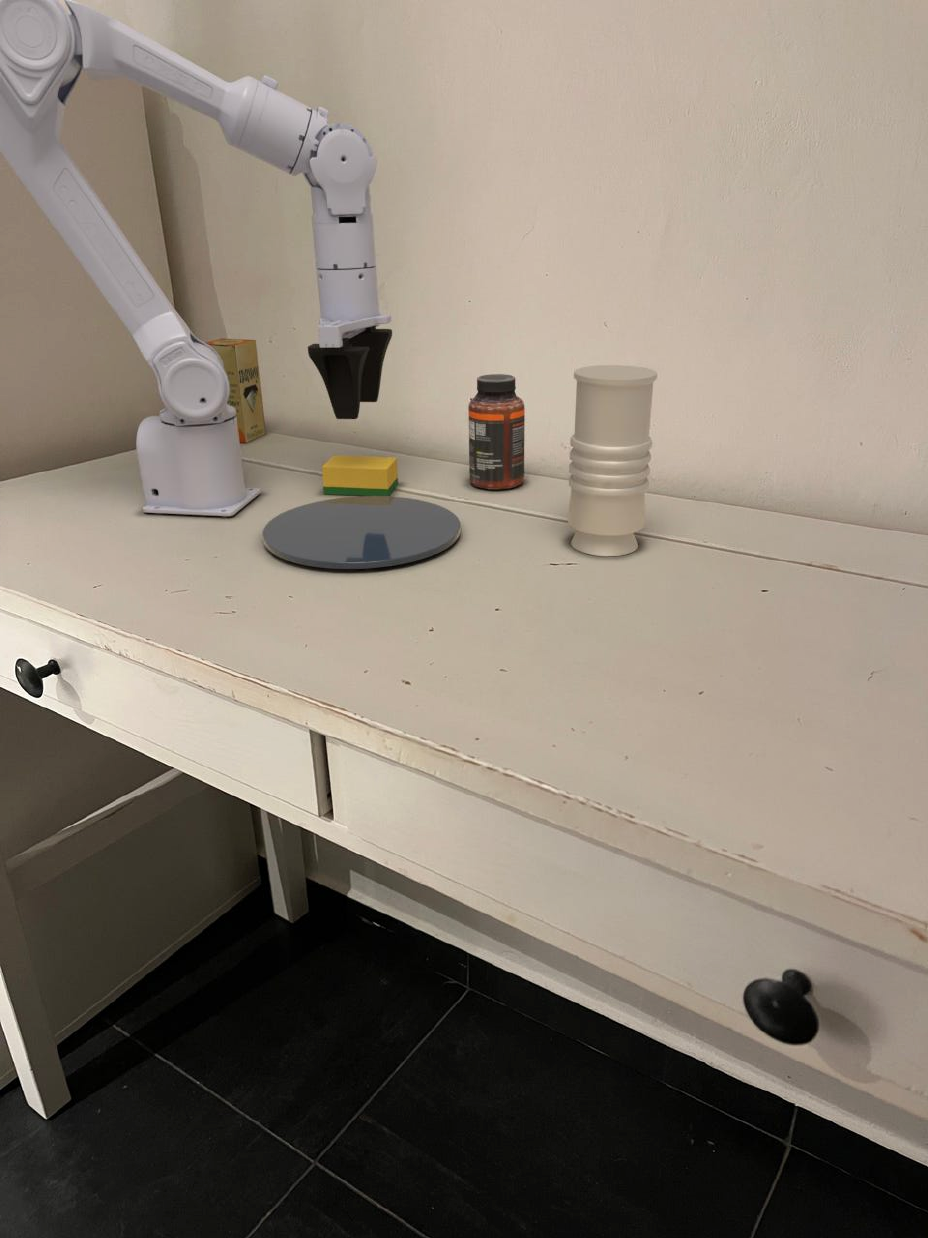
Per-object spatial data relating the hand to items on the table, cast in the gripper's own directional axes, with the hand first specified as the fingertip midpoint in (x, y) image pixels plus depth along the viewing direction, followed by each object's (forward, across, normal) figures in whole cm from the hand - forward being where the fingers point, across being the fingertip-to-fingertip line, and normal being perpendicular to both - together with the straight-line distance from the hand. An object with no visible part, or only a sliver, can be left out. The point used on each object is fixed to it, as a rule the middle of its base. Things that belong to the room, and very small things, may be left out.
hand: (357, 409), depth 91 cm
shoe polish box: (+8, +20, +22) cm, 31 cm away
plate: (+8, -14, -4) cm, 17 cm away
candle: (+9, -13, -26) cm, 30 cm away
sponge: (+8, 0, 0) cm, 9 cm away
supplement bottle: (+9, +4, -14) cm, 17 cm away
